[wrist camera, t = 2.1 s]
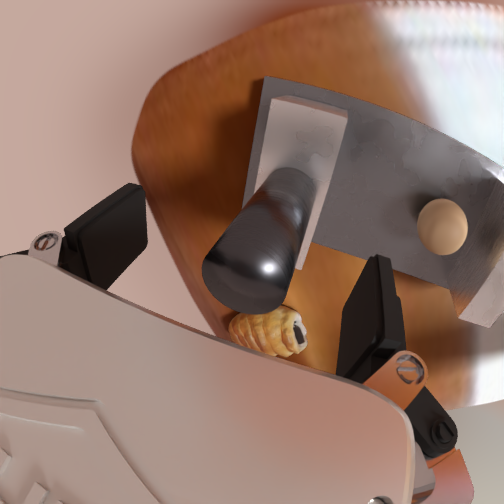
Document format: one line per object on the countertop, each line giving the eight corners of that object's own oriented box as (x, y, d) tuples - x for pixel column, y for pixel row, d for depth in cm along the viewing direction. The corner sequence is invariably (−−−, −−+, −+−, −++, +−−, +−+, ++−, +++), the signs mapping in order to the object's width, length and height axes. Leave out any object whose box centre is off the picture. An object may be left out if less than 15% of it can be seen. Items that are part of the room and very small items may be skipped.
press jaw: (347, 110, 16) (351, 155, 6) (311, 232, 22) (269, 373, 12) (289, 94, 17) (198, 118, 7) (263, 217, 23) (188, 343, 13)
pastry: (244, 342, 37) (235, 364, 34) (222, 305, 34) (209, 328, 31) (313, 339, 32) (307, 364, 29) (296, 297, 29) (288, 323, 26)
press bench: (529, 186, 14) (567, 221, 9) (472, 289, 22) (489, 338, 17) (270, 76, 18) (240, 74, 13) (245, 211, 25) (216, 251, 20)
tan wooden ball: (465, 201, 17) (484, 226, 14) (444, 243, 19) (457, 273, 16) (424, 182, 17) (439, 204, 14) (404, 227, 20) (413, 256, 17)
